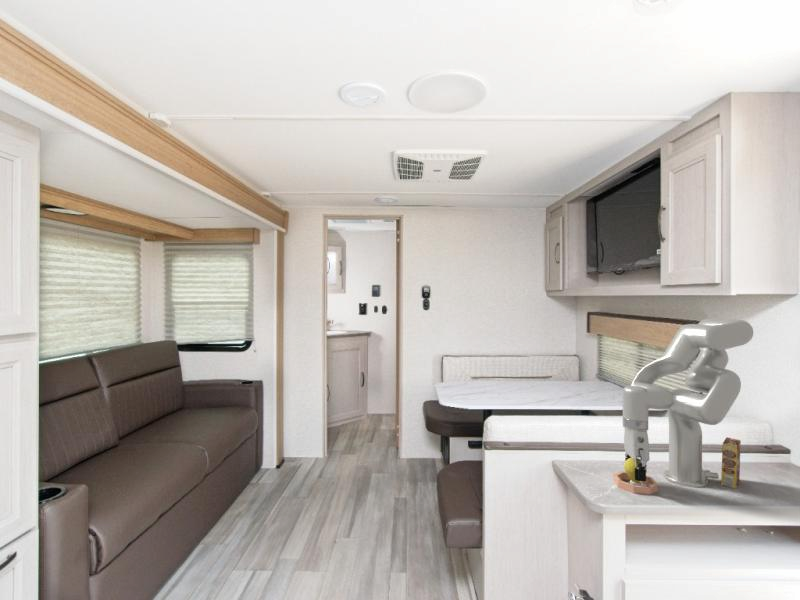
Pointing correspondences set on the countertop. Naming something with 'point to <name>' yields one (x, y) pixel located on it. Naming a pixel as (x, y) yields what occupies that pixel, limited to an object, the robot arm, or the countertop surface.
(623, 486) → the terracotta ring
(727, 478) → the candy box
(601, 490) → the countertop surface
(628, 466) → the light bulb
